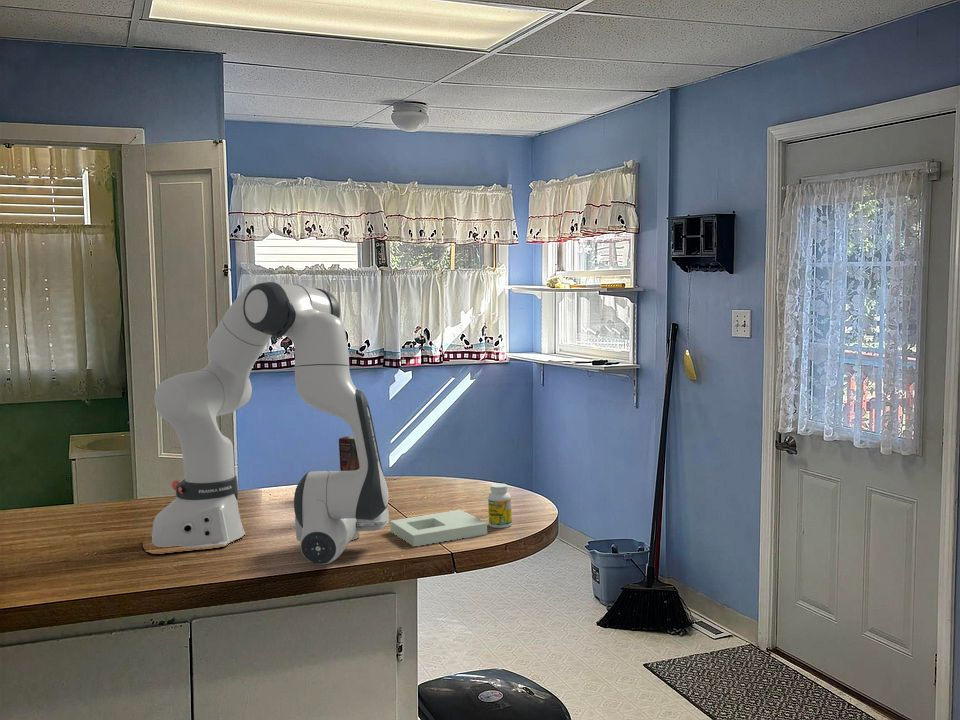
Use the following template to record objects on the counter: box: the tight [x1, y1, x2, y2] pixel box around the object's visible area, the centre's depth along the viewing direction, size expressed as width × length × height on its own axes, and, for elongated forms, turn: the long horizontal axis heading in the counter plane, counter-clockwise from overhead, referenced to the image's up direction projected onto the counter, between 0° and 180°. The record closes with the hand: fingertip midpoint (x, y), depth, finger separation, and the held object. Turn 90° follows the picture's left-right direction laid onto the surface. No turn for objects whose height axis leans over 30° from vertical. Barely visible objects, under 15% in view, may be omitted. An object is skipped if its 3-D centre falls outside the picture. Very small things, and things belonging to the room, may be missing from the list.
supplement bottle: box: [487, 482, 513, 529], centre depth 216 cm, size 5×5×10 cm
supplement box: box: [338, 435, 353, 471], centre depth 248 cm, size 9×5×16 cm, turn 58°
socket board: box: [389, 509, 488, 547], centre depth 211 cm, size 18×14×3 cm
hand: (348, 508), depth 209 cm, fingers closed on peg, 5 cm apart
